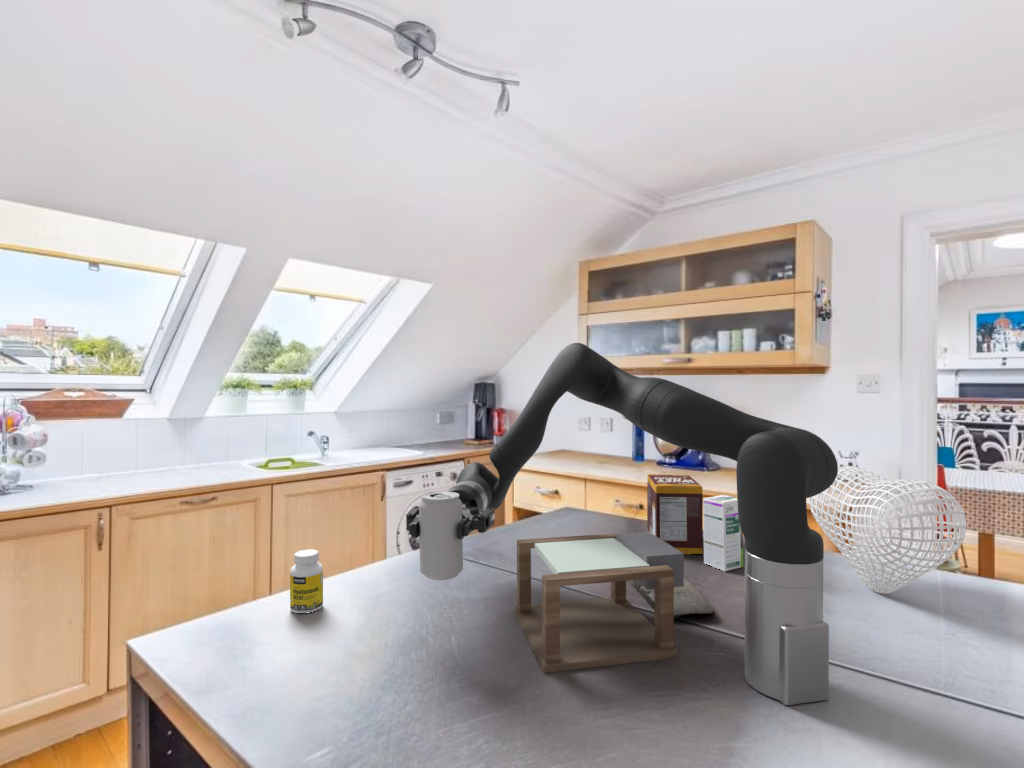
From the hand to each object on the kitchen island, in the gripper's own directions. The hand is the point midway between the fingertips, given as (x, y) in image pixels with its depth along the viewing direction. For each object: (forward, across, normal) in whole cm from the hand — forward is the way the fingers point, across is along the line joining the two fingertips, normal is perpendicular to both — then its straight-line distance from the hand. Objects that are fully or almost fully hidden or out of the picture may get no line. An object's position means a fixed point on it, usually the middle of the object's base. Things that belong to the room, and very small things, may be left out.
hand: (436, 531), depth 81 cm
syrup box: (-44, +50, +18) cm, 69 cm away
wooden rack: (-9, +22, +18) cm, 30 cm away
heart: (-33, +75, +19) cm, 84 cm away
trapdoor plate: (-10, +25, +10) cm, 28 cm away
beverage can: (-2, 0, +7) cm, 8 cm away
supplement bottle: (-12, -27, +18) cm, 35 cm away
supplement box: (-58, +41, +18) cm, 74 cm away
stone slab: (-30, +35, +19) cm, 50 cm away
